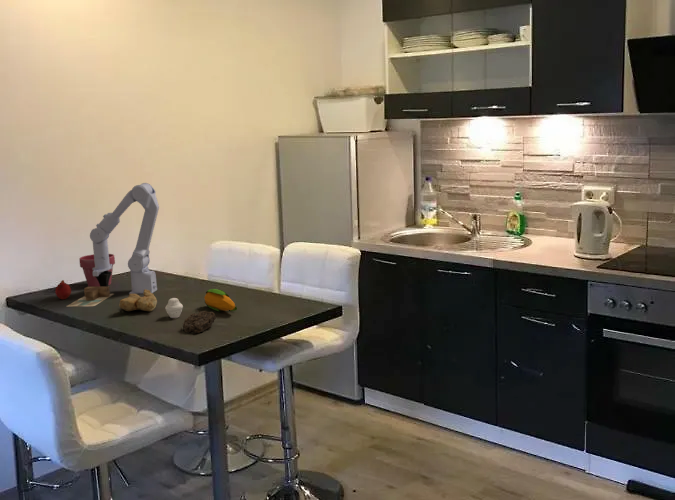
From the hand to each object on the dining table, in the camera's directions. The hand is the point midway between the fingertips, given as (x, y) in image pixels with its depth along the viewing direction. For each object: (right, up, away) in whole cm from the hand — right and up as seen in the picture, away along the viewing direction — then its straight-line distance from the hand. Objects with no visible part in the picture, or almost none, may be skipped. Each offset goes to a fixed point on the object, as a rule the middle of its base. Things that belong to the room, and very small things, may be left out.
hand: (104, 289), depth 297 cm
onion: (-13, -4, -9) cm, 16 cm away
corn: (+53, -6, -32) cm, 62 cm away
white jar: (+37, -8, -38) cm, 54 cm away
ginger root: (+22, -6, -28) cm, 36 cm away
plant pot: (-6, +1, +14) cm, 15 cm away
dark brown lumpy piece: (+48, -10, -53) cm, 73 cm away
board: (-1, -4, -12) cm, 13 cm away
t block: (-1, -3, -9) cm, 10 cm away
